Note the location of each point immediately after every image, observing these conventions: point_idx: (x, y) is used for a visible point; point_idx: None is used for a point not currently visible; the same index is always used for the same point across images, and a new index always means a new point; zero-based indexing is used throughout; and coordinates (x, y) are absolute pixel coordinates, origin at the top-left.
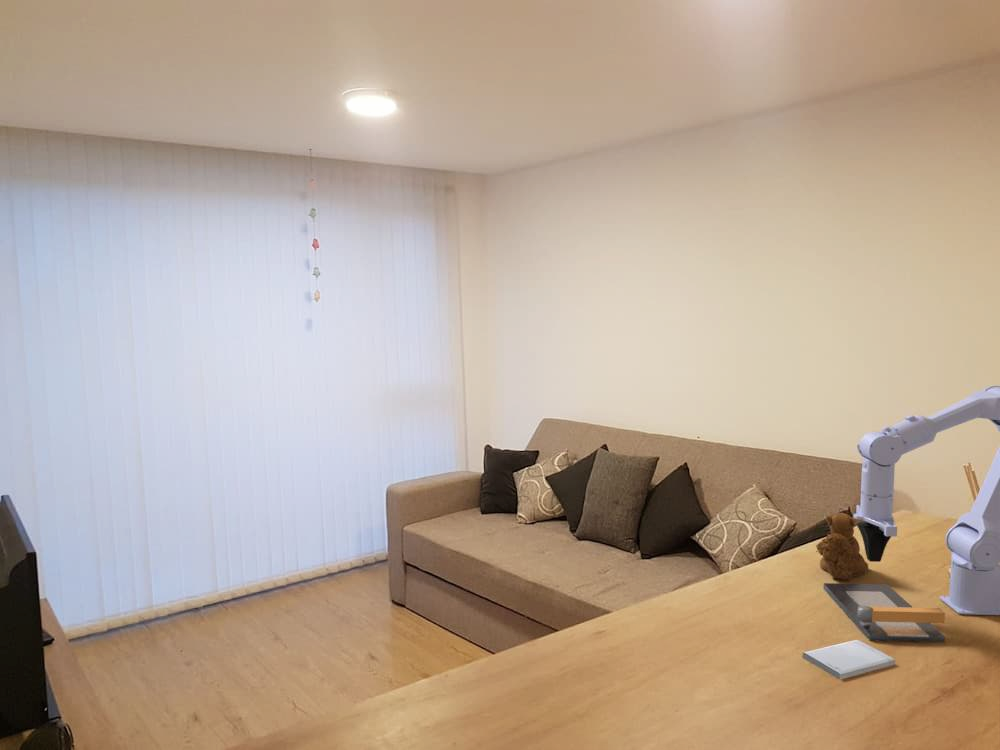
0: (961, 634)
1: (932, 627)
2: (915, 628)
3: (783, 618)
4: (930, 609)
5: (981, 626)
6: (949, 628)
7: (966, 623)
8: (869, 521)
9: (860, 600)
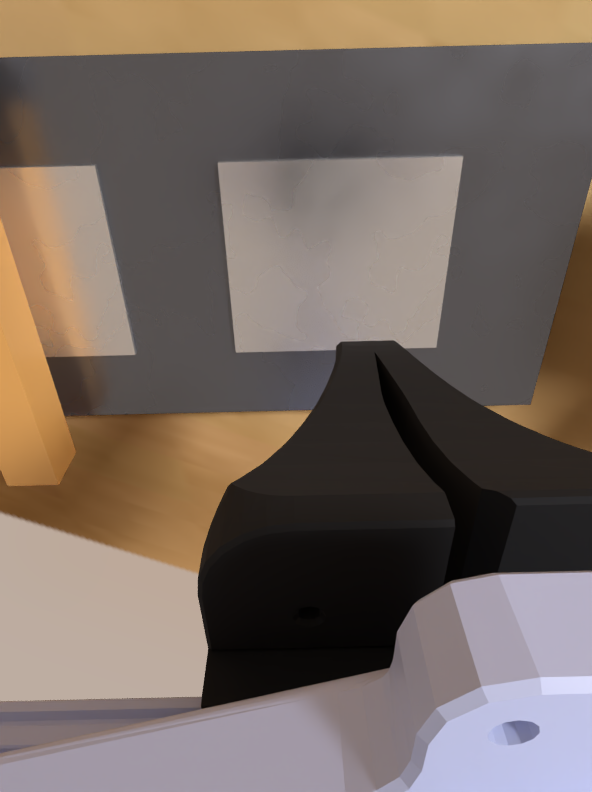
0: (94, 477)
1: None
2: None
3: None
4: (25, 447)
5: (182, 549)
6: (139, 462)
7: (198, 522)
8: (154, 761)
9: (315, 192)
